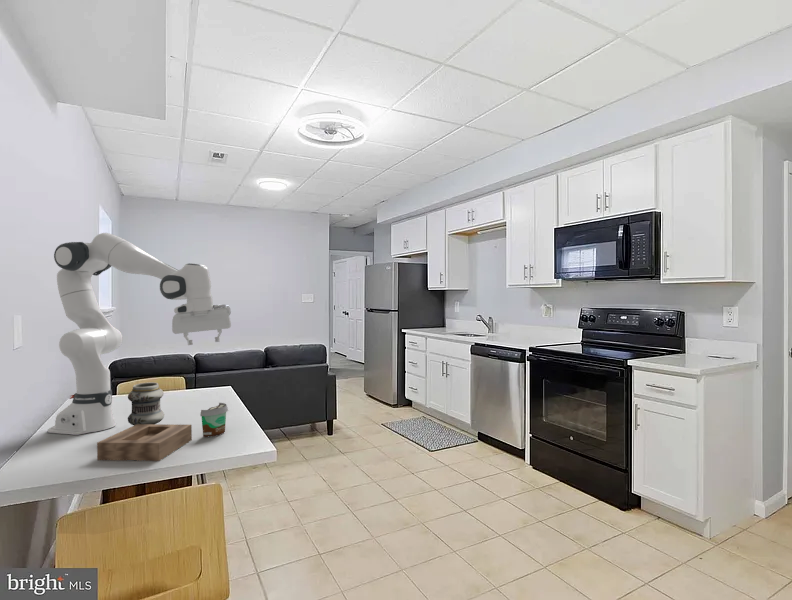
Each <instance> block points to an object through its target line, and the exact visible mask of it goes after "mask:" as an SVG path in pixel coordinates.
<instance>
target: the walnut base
mask: <svg viewBox="0 0 792 600" xmlns="http://www.w3.org/2000/svg"><path fill="white" fill-rule="evenodd" d="M192 432H193V431H192V424H160V423H157V424H136V425H132V426H130V427H128V428H126V429H124V430H122V431H120V432H117V433H115V434H112V435H110V436H109V437H106V438H103V439H102V440H99V441H98V442H96V452H97V459H96V460H97V461H127V460H137V461H138V460H139V461H141V462H142V460H143V462H150V461H152V462H159V461H161V459H162V460H163V459H165V458H166V457H168V456H170V455H171V454H172V452H173V451H174V452H176V451H177V450H179V449H180V448H182V447H184V446H185V445H186V443H187V444H188V443H190V442H191V441H192V438H193V437H192V436H193V434H192ZM189 441H190V442H189ZM181 446H182V447H181ZM178 448H179V449H178ZM175 450H176V451H175ZM174 452H173V453H174ZM167 455H168V456H167ZM164 457H165V458H164ZM144 460H145V461H144ZM139 461H138V462H139Z"/></svg>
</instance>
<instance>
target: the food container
mask: <svg viewBox="0 0 792 600" xmlns="http://www.w3.org/2000/svg"><path fill="white" fill-rule="evenodd" d="M228 411H229V408H228V405H227V403H226V402H218V405H216V406H212V407H209V408H208V409H201V410H200V417H201V427H202V428H201V429H202V437H203V438H209V437H208V436H212V437H217V436H216V435H218V436H221V435H223V434H225V433H226V421H227V413H228ZM224 432H225V433H224ZM220 434H221V435H220Z"/></svg>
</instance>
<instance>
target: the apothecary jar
mask: <svg viewBox="0 0 792 600" xmlns="http://www.w3.org/2000/svg"><path fill="white" fill-rule="evenodd" d="M163 396H164V391H163V389H161V388H160V386H159V383H158V382H155V381H154V382H153V381H151V382H149V381H148V382H141V383H136V384H134V385H132V389H131V391H130V392H129V393H128V395H127V398H128V400H129V402H131V413H130V414H129V415H128V417H127V422H128V423H129V424H130V425H132V426H134V425H136V424H160V422H161V421H162V420H163V419H164V417H165V413H164V411H163V410H162V409H161V408H162V407H161V399H162V397H163Z"/></svg>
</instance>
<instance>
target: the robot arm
mask: <svg viewBox="0 0 792 600" xmlns="http://www.w3.org/2000/svg"><path fill="white" fill-rule="evenodd" d="M53 259H54V261H55V264H56V265H57V266H58V267H59V268H61V269H60V270H59V271H57V273H56V283H57V289H58V294H59V297H60V301H61V304H62V306H63V311H64V314H65V315H66V318H68V320H70V321H72V322H74V323H75V325H77V327H78V329H77V328H76V329H73V330H71V331H68V332H66V333H64V334H63V335H62V336H61V338H60V339H59V343H58V348H59V350H60V351H59V352H60V353H61V354H62V355H63V356H65V357H66V358H68V360H69V361H70V362H71V365H72V367H73V369H74V373H75V381H76V382H75V383H76V384H75V387H76V392H75V393H73V394H71V395H70V397H69V400H71V399H72V401H71V403H70V404H69V405H67V406H66V407H65V408H64V409H62V410H60V412H59V413H58V414H57V415H56V416H55V420H54V421H55V422H54V426H53V425H52V426H51V427H49V428H48V429H47V433H49V434H50V433H51V434H60V435H61V434H62V435H74V436H77V435H84V434H89V433H95V432H100V431H104V430H105V431H106V430H110V429H111V428H113V427H115V426H116V425H117V423H116V419H115V416H114V413H113V406H112V402H113V391H112V389H111V371H110V370H111V369H109V368H108V367H107V366H105V364H104V363H103V359H102V357H101V355H105V354H109V353H112V352H114V351H116V350H117V349H119V348H120V347H121V345H122V343H123V334H122V332H121V331H120V330H119V329H118V328H116V327H114V326H113V325H112V324H111V323H110V322H109V320H108V318H107V317H106V316H105V315H104V313H103V311H102V310H101V307H100V305H99V303H98V299H97V296H96V293H95V290H94V287H93V285H92V280H91V279H92V276H99V275H101V274H102V273H104V272H105V271H107V270H109V269H110V268H114V269H116V270H118V271H121V272H123V273H126V274H135V275H143V276H150V277H155V278H157V279H160V283H159V291H160V294H161V295H162V296H163V297H164V298H165V299H167V300H173V301H174V300H175V301H177V300H178V301H179V300H181V301H182V300H186V303H184V304H181V305H180V306H176V307H175V308H174V309H173V311H174V313H175V314H174V315H173V316H172V323H171V324H172V325H171V330H172V333H173V334H175V335H177V334H178V335H180V334H183V337H184V338H185V340H186V341H187V345H188V346H192V345H193V339H190V338H189V337H188V336H189V333H198V332H199V333H200V332H207V331H217V333H218V334H217V336H215V337H214V339H215V340H214V342H215V343H220V337H221V334H222V331H223V330H226V329H230V328H231V327H232V322H231V318H230V315H231V312H232V311H231V308H230V305H226V304H214V303H213V296H212V293H211V289H212V282H211V276H210V272H209V268H208V267H207V266H206V264H201V263H186V264H184V265H183V266H182V268H181V269H177V268H175V267H173V266H171V265H169V264H167V263H166V262H164V261H162V260H159V259H157V258H156V257H154V256H153V255H151V254H149V253H147V252H146V251H144V250H143V249H141V248H140V247H138V246H137V245H135V244H133V243H132V242H131V241H128V240H126V239H124V238H123V237H120V236H118V235H115V234H113V233H109V232H101V233H99V234H97V235H96V236H95V237H93V239H92V241H91V242H83V241H71V242H65V243H61V244H59V245H58V246H57V247H56V248H55V249H54V252H53Z"/></svg>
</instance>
